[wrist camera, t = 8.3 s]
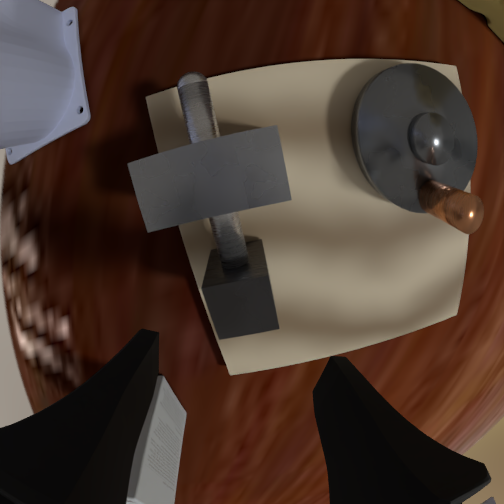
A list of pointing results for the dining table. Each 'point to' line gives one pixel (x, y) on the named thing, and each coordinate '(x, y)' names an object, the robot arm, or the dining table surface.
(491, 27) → the cheese
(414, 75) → the handwheel
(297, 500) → the dining table surface
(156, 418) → the skincare box
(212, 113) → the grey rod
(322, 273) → the board
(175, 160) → the block
